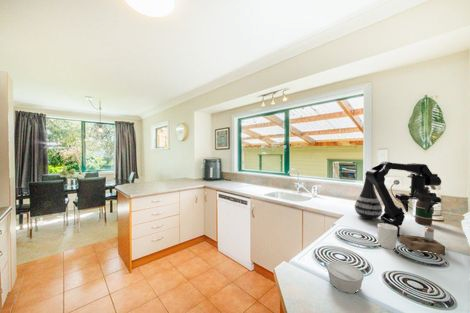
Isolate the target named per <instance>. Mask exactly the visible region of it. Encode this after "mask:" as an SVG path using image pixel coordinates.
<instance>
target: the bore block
mask: <svg viewBox="0 0 470 313" xmlns="http://www.w3.org/2000/svg"><path fill="white" fill-rule="evenodd" d="M399 235H400V236H399V243H400V244H402V245H403V246H404V245H405V246H406V247H408V248H409V249H411V250H420V251H428V252H432V253H436V254H435V255H440V254H443V255H442V256H445V255H446V246H445V245H444V244H443V243H441V242H439V241H437V240H436V239H434V238H433V243H427V242H425V241H424V238H425V236H419V235H410V234H401V233H400V234H399ZM405 246H404V247H405ZM406 247H405V248H406ZM408 248H407V249H408ZM409 249H408V250H409ZM432 253H431V254H432Z"/></svg>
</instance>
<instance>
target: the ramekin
mask: <svg viewBox="0 0 470 313" xmlns="http://www.w3.org/2000/svg"><path fill="white" fill-rule="evenodd" d="M326 268H327V272H328V278H330V279H329V281H330V283H331V285H332V284H333V285H332V286H333V287H334V286H335V287H336V289H337V288H338V289H340V290H342V291H344V292H343V293H345V292H348V293H347V294H351V293H352V294H356V293H355V292H356V291H357V290H359V289H360V288H362V284H363V281H364V272H362V270H360V268H358V267H356V266H355V265H353V264H351V263H349V262H345V261H339V260H338V261H337V260H336V261H331V262H328V264H327V267H326ZM335 287H334V288H335ZM338 289H337V290H338ZM340 290H339V291H340ZM360 290H361V289H360ZM360 290H359V291H360ZM342 291H341V292H342Z"/></svg>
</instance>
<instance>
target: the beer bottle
mask: <svg viewBox="0 0 470 313" xmlns="http://www.w3.org/2000/svg"><path fill="white" fill-rule="evenodd" d="M425 188H426V189H427V193H430V192H429V189H430V188H429V187H428V186H425ZM433 207H434V205H433V206H432V208H431V209H430V211H429V213H428V214H426V212H425V202H422V201H420V200H417V201H416V202H415V215H414V216H415V217H414V220H415V223H416V224H418V225H422V226H426V227H428V226H429V227H430V226H432V225H433V212H434V210H433V209H434V208H433Z"/></svg>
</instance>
